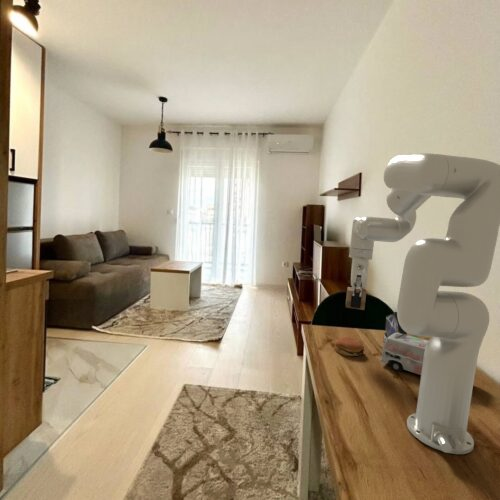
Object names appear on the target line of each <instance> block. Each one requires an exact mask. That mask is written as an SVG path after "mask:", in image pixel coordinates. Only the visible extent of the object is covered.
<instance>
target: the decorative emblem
mask: <svg viewBox="0 0 500 500" xmlns="http://www.w3.org/2000/svg"><path fill="white" fill-rule="evenodd" d="M394 333H401V334H405V335H407V334H408V333H406V332H405V331H404V330H403V329H402V328H401V326H400V324H399V322H398V317H397V311H394V312H393V313H391V314H389V315H386V316H385V332H384V333H383V340H382V341H383V344H385V341H386V339H387V338H388V337H389V336H390V335H392V334H394Z"/></svg>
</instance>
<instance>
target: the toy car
mask: <svg viewBox="0 0 500 500" xmlns="http://www.w3.org/2000/svg"><path fill="white" fill-rule="evenodd" d="M428 342H429V340H427V339H423V338H421V337H420V338H419V337H418V336H413V335H410V334H408V335H405V334H401V333H394V334H392V335H390V336H389V337H388V338H387V339H386V341H385V343H383V344H384V345H383V346H382V349H381V357H380V362H381V363H382V362H383V363H385V364H389V365H388V366H389V369H390V370H393V371H396V372H398V373H402V372H403V371H404V370H405V371H408V372H411V373H413V374H416V375H420V376H421V372H422V364H423V358H424V352H425V348H426V346H427V344H428Z"/></svg>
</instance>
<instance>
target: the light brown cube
mask: <svg viewBox="0 0 500 500" xmlns="http://www.w3.org/2000/svg"><path fill="white" fill-rule="evenodd" d="M346 288H347V290H346V297H345V298H346V299H345V308H347V309H354V310H355V309H356V310H362V311H365V307H366V300H367V299H366V298H367V290H366V289H364V288H362V292H361V297H362V298H361V307H360V308H353V307H351V306H350V305H351V296H352V295H353V288H352V286H351V287H350V286H347V287H346ZM354 293H355V292H354Z"/></svg>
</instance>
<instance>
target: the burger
mask: <svg viewBox="0 0 500 500" xmlns="http://www.w3.org/2000/svg"><path fill="white" fill-rule="evenodd" d="M334 351H336V353H338V354H339V355H342V356H345V357H359V356H361V355H362V354H363V353H364V352H365V346H364V344H363V342H362V341H361V340H360V339H357V338H353V337H346V336H345V337H343V336H342V337H339V338H338V339H336V341H335V344H334Z"/></svg>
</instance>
